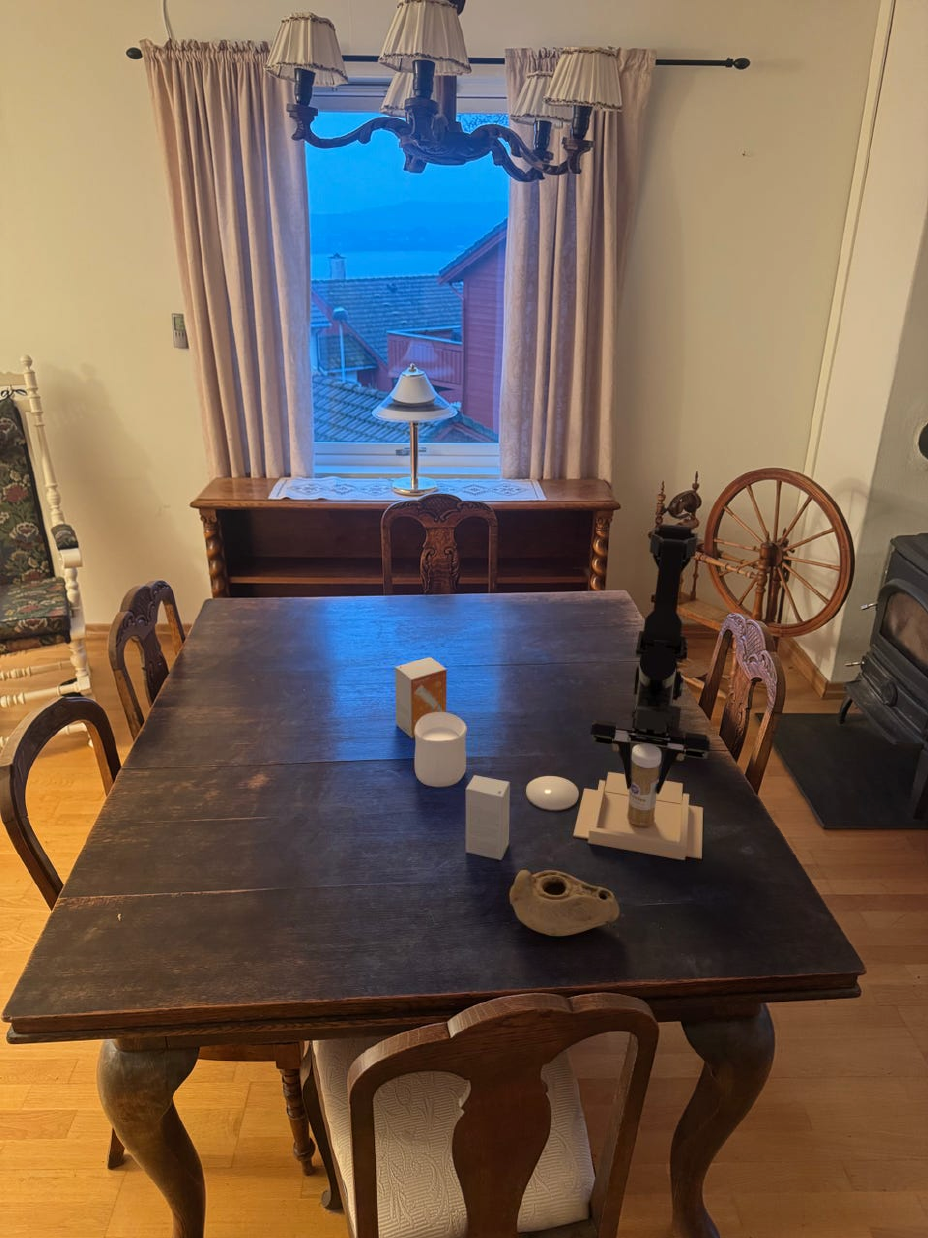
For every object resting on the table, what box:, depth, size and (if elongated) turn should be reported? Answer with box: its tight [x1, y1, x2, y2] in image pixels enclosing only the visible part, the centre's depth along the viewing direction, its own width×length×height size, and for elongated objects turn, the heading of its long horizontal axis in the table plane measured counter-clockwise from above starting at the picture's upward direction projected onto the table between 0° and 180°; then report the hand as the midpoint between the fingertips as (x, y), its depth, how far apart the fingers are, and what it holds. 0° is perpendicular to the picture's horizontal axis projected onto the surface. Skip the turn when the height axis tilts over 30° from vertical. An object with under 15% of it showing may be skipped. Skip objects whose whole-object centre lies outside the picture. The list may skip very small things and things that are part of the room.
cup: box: [414, 711, 468, 788], centre depth 150 cm, size 10×10×10 cm
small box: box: [394, 656, 448, 739], centre depth 163 cm, size 8×6×13 cm
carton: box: [573, 771, 704, 861], centre depth 141 cm, size 20×20×2 cm
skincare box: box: [465, 774, 511, 861], centre depth 131 cm, size 6×4×12 cm
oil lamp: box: [509, 869, 620, 937], centre depth 118 cm, size 11×15×8 cm
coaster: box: [525, 775, 580, 811], centre depth 146 cm, size 9×9×1 cm
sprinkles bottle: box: [627, 743, 662, 826], centre depth 136 cm, size 5×5×13 cm
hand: (643, 791), depth 135 cm, fingers closed on sprinkles bottle, 4 cm apart
